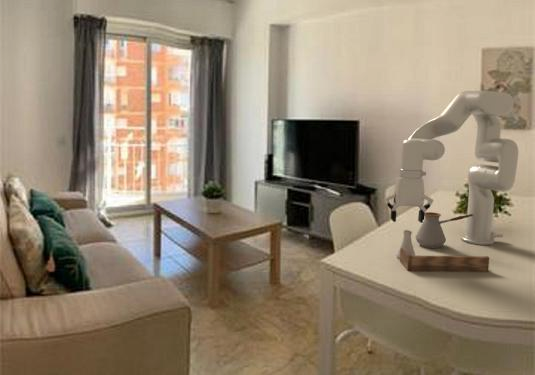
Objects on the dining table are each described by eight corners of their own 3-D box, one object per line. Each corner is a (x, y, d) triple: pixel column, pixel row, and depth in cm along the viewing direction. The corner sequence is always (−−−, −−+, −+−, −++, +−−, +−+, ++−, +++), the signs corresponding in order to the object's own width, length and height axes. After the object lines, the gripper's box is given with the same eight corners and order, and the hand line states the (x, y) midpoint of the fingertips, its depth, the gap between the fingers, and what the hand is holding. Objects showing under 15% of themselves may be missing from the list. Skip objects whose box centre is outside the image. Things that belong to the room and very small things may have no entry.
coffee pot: (410, 246, 186) (413, 209, 184) (420, 239, 195) (422, 204, 193) (467, 256, 174) (470, 217, 171) (475, 249, 183) (478, 211, 180)
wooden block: (475, 261, 168) (476, 248, 167) (488, 271, 158) (489, 257, 157) (399, 261, 168) (400, 247, 167) (407, 270, 158) (408, 256, 157)
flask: (416, 255, 175) (418, 229, 173) (415, 261, 168) (417, 234, 166) (396, 253, 177) (397, 227, 175) (394, 259, 170) (396, 232, 168)
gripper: (431, 173, 171) (427, 219, 173) (383, 172, 171) (380, 218, 173) (438, 176, 163) (434, 224, 166) (389, 175, 163) (385, 223, 166)
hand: (407, 221), depth 170 cm, fingers open, 9 cm apart
